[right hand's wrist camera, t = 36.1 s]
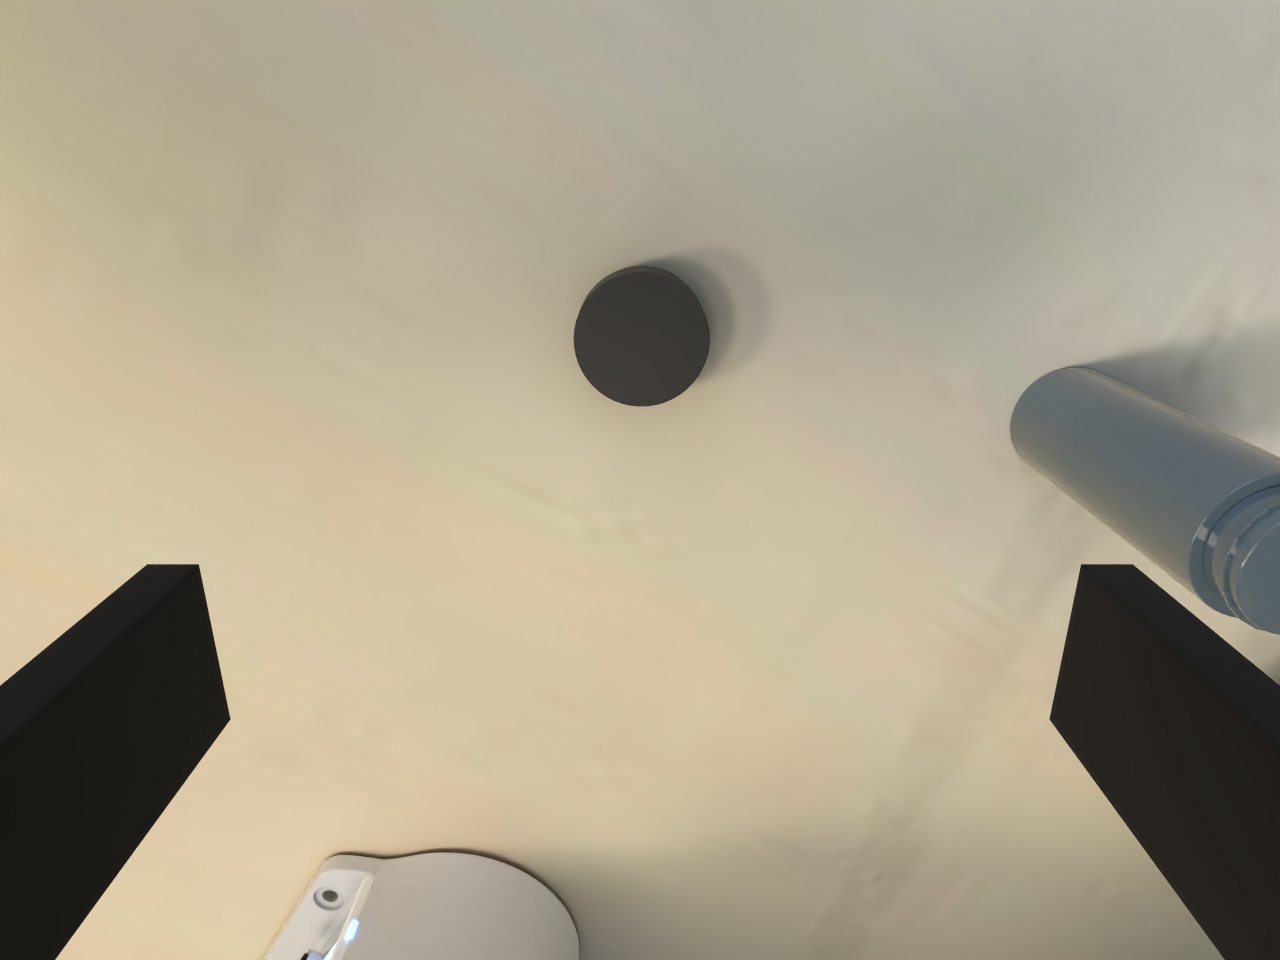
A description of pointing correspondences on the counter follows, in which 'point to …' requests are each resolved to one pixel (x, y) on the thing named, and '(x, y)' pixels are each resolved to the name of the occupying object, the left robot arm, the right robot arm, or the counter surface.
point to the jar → (1162, 486)
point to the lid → (641, 336)
